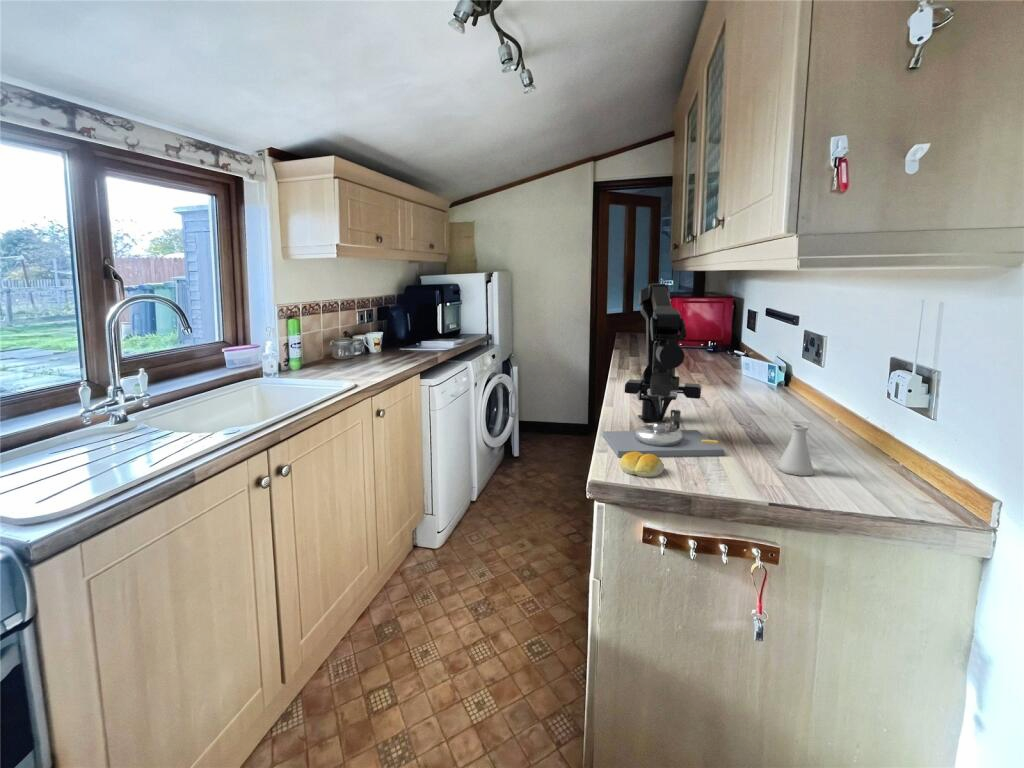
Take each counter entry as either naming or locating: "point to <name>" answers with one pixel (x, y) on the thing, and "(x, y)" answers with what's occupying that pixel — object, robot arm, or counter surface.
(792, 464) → the flask
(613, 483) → the counter surface
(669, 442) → the silver round handled piece
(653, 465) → the bread roll
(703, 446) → the slate board
